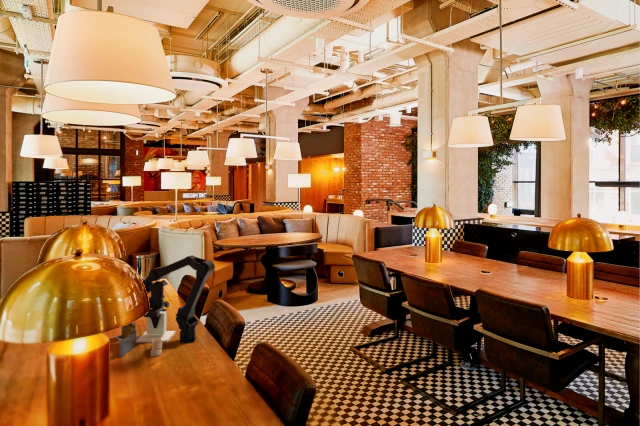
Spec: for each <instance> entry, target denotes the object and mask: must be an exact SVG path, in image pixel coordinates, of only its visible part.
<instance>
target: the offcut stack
mask: <svg viewBox="0 0 640 426" xmlns="http://www.w3.org/2000/svg"><path fill="white" fill-rule="evenodd" d="M151 343H152V344H151V351H150V357H158V356H162V353H163V342H162V341H161V338H152V342H151Z"/></svg>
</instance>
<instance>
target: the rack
mask: <svg viewBox="0 0 640 426" xmlns="http://www.w3.org/2000/svg"><path fill="white" fill-rule="evenodd" d="M137 330H138V329H136V328H135V329H133V330H132V333H131V334H130V335H128V336H127V337H126V338H125V339H120V341H119V345H118V346H119V350H118V351H119V355H118V356H119V358H123V357H124V356H125V355H126V354H127V353H129V352H130V350H132V349H133V348H134V347H135V346H136V345H137V342H136V340H137V337H136V335H138V334H137V333H138V331H137Z"/></svg>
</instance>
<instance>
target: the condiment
mask: <svg viewBox="0 0 640 426" xmlns="http://www.w3.org/2000/svg"><path fill="white" fill-rule="evenodd" d="M136 322H137V320H136V321H135V322H133V323H130V324H128V325H126V326H123V327H122V326H121V334H120V335H115V336H114V338H115V339H117V340H118V341H119V342H120V339H125V338H126V337H127V336H128V335H130V334H131V333H132V330H133V329H136V327H137V324H136ZM136 338H139V336H138V334H136Z"/></svg>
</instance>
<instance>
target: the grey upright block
mask: <svg viewBox="0 0 640 426" xmlns="http://www.w3.org/2000/svg"><path fill="white" fill-rule="evenodd" d="M160 314H161V317H160V320H159V323H158V325H157V328H154V327H153V324H152V320H151V318H150V317H146V330H145V332H146V334H155V335H164V334H165V333H166V331H167V321H168V320H167V310H166V311H160Z"/></svg>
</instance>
